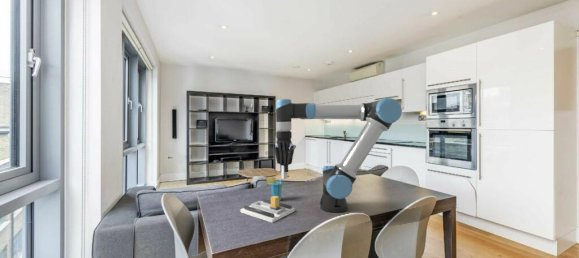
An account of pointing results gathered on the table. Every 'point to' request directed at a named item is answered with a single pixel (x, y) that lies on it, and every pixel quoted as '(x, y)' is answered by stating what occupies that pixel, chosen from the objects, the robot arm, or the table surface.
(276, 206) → the lever
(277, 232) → the table surface
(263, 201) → the panel
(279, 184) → the cup
